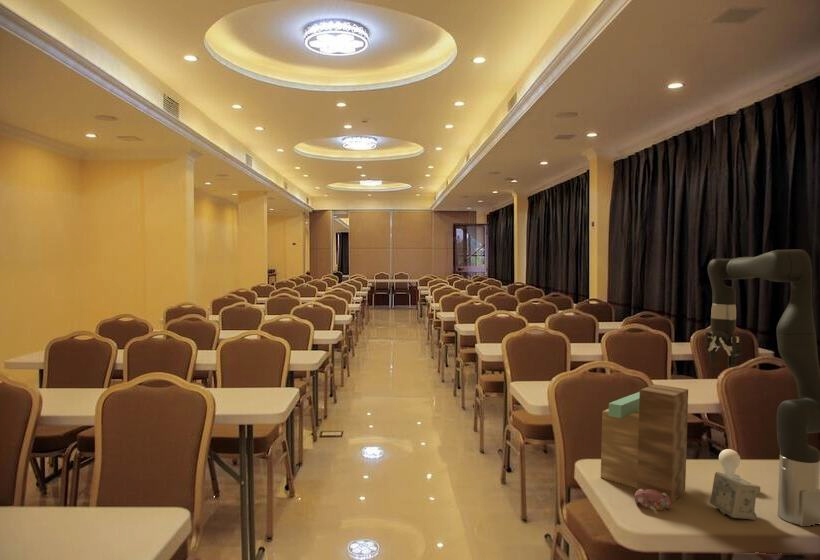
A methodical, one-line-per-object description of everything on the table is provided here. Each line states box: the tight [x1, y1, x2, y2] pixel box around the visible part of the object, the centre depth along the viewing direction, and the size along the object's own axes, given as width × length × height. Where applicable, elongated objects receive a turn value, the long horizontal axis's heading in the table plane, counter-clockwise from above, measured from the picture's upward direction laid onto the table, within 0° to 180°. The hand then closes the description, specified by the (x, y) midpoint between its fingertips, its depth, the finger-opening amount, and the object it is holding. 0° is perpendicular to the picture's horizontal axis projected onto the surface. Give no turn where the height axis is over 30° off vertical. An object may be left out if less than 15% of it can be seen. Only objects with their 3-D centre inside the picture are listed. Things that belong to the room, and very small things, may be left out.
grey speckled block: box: [709, 471, 761, 521], centre depth 164 cm, size 10×8×10 cm
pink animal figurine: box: [633, 489, 672, 511], centre depth 167 cm, size 10×5×7 cm, turn 63°
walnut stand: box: [636, 383, 689, 505], centre depth 177 cm, size 12×10×32 cm
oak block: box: [600, 408, 639, 489], centre depth 191 cm, size 14×12×22 cm
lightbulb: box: [718, 448, 741, 474], centre depth 187 cm, size 6×6×11 cm
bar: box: [608, 391, 640, 418], centre depth 192 cm, size 26×4×4 cm, turn 136°
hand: (721, 364), depth 199 cm, fingers open, 8 cm apart
